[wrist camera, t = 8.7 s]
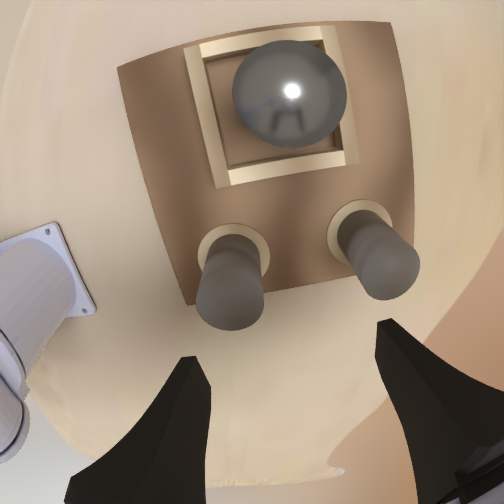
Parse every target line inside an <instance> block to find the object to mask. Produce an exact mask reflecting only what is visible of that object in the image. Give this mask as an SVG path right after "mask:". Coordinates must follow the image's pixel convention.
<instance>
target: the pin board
mask: <svg viewBox="0 0 504 504" xmlns="http://www.w3.org/2000/svg"><path fill="white" fill-rule="evenodd" d="M278 40H296V41H302V42H305V43H308V44H311V45H313V46H315V47H317V48H319V49H320V50H322V51H323V52H324V53H326V54H327V55H328V56H329V57H330V58H331V59H332V60H333V61H334V62H335V63H336V65H337V66H338V68H339V69H340V71H341V73H342V75H343V78H344V80H345V84H346V90H347V103H346V108H345V112H344V115H343V117H342V119H341V121H340V123H339V124H338V126H337V127H336V128H335V129H334V131H333V132H331V133H330V134H329V135H328V136H327V137H325V138H324V139H323V140H321V141H319V142H317V143H315V144H312V145H309V146H305V147H299V148H285V147H279V146H275V145H272V144H269V143H267V142H265V141H263V140H261V139H259V138H258V137H256V136H255V135H254V134H252V133H251V132H250V131H249V130H248V129H247V128H246V127H245V125H244V124H243V123H242V121H241V120H240V118H239V117H238V115H237V112H236V110H235V107H234V104H233V98H232V86H233V80H234V76H235V73H236V71H237V69H238V67H239V65H240V64H241V62H242V61H243V60H244V59H245V57H246V56H247V55H249V54H250V53H251V52H252V51H253V50H255V49H256V48H258V47H260V46H262V45H264V44H267V43H270V42H273V41H278ZM117 71H118V76H119V81H120V85H121V90H122V95H123V99H124V103H125V108H126V112H127V116H128V120H129V125H130V129H131V133H132V136H133V140H134V144H135V148H136V152H137V155H138V159H139V163H140V166H141V170H142V173H143V177H144V180H145V184H146V187H147V190H148V194H149V197H150V200H151V204H152V207H153V210H154V213H155V216H156V219H157V222H158V226H159V229H160V232H161V235H162V238H163V241H164V244H165V246H166V249H167V252H168V255H169V258H170V261H171V264H172V266H173V269H174V272H175V275H176V277H177V280H178V283H179V286H180V288H181V291H182V294H183V296H184V299H185V301H186V304H187V305H194V304H196V307H197V310H198V313H199V314H200V316H201V317H202V318H203V320H204V321H206V322H207V323H208V324H210V325H211V326H213V327H215V328H218V329H222V330H228V331H234V330H241V329H244V328H247V327H249V326H251V325H252V324H254V323H255V322H256V321H257V320H258V319H259V317H260V316H261V314H262V311H263V307H264V300H263V293H266V292H272V291H277V290H283V289H288V288H294V287H299V286H304V285H309V284H314V283H319V282H324V281H329V280H334V279H339V278H344V277H349V276H353V275H357V277H358V279H359V280H360V282H361V284H362V285H363V287H364V289H365V290H366V292H367V293H368V294H369V295H370V296H371V297H373V298H374V299H377V300H390V299H394V298H396V297H399V296H400V295H402V294H403V293H405V292H406V291H407V290H408V289H409V288H410V287H411V286H412V285H413V283H414V282H415V280H416V278H417V276H418V273H419V269H420V259H419V256H418V253H417V252H416V250H415V249H414V248H413V247H414V170H413V154H412V141H411V131H410V121H409V113H408V106H407V99H406V92H405V86H404V80H403V75H402V69H401V64H400V59H399V55H398V50H397V46H396V42H395V38H394V34H393V30H392V26H391V23H389V22H373V21H321V22H304V23H292V24H283V25H274V26H267V27H260V28H253V29H247V30H242V31H236V32H231V33H226V34H222V35H217V36H213V37H209V38H204V39H200V40H197V41H193V42H189V43H185V44H182V45H179V46H175V47H172V48H169V49H166V50H162V51H159V52H156V53H153V54H150V55H148V56H145V57H142V58H139V59H137V60H134V61H131V62H129V63H126V64H124V65H121V66H119V67H117Z"/></svg>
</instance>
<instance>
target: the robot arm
mask: <svg viewBox="0 0 504 504" xmlns="http://www.w3.org/2000/svg"><path fill="white" fill-rule="evenodd" d="M48 229H49V230H50V232H49V231H48ZM84 308H85V309H86V310H85V309H84ZM95 312H96V307H95V305H94V303H93V301H92V299H91V297H90V295H89V293H88V291H87V289H86V287H85V285H84V283H83V281H82V279H81V277H80V275H79V273H78V270H77V268H76V266H75V264H74V262H73V259H72V257H71V255H70V252H69V250H68V248H67V245H66V243H65V240H64V238H63V235H62V233H61V230H60V228H59V226H58V224H57V223H55V222H52V223H49V224H46V225H43V226H41V227H38V228H35V229H33V230H30V231H27V232H25V233H22V234H20V235H17V236H15V237H12V238H10V239H7V240H5V241H2V242H0V464H1V463H4V462H6V461H8V460H9V459H11V458H12V457H13V456H15V454H17V452H18V451H19V450H20V449H21V447H22V446H23V444H24V442H25V440H26V438H27V435H28V431H29V426H30V414H29V410H28V407H27V405H26V403H25V402H24V400H25V398H26V396H27V394H28V393H29V391H30V389H29V387H28V386H27V384H26V382H25V379H26V377H27V376H28V374H29V372H30V371H31V369H32V368H33V366H34V364H35V363H36V361H37V360H38V358H39V356H40V355H41V353H42V352H43V350H44V349H45V347H46V345H47V344H48V342H49V341H50V339H51V338H52V336H53V335H54V333H55V332H56V331H57V329H58V328H59V326H60V325H61V323H62V322H63V320H64V319H65V318H70V317H79V316H87V315H93V314H94V313H95ZM375 359H376V363H377V366H378V369H379V372H380V375H381V378H382V381H383V383H384V385H385V387H386V390H387V392H388V394H389V396H390V399H391V401H392V403H393V405H394V407H395V410H396V412H397V414H398V417H399V419H400V421H401V424H402V427H403V430H404V433H405V437H406V440H407V444H408V448H409V452H410V457H411V461H412V465H413V471H414V476H415V482H416V489H417V496H418V504H504V392H503V391H501V390H498V389H495V388H493V387H490V386H488V385H486V384H483V383H482V382H479V381H477V380H475V379H473V378H471V377H469V376H468V375H466V374H464V373H462V372H460V371H459V370H457V369H456V368H454V367H452V366H451V365H449V364H448V363H446V362H445V361H444V360H442V359H441V358H440V357H438V356H437V355H435V354H434V353H433V352H431V351H430V350H429V349H428V348H426V347H425V346H424V345H423V344H421V343H420V342H419V341H418V340H417V339H415V338H414V337H413V336H412V335H411V334H410V333H408V332H407V331H406V330H405V329H404V328H403V327H401V326H400V325H399V324H398V323H397V322H396V321H394V320H393V319H392V318H390V319H387V320H383V321H379V322H377V336H376V349H375ZM210 414H211V386H210V384H209V382H208V380H207V378H206V376H205V374H204V372H203V370H202V368H201V366H200V364H199V362H198V360H197V358H196V356H189V357H181V359H180V360H179V362H178V363H177V365H176V366H175V368H174V370H173V371H172V373H171V375H170V376H169V378H168V379H167V381H166V383H165V384H164V386H163V387H162V389H161V390H160V392H159V393H158V395H157V396H156V398H155V399H154V401H153V402H152V404H151V405H150V406H149V408H148V409H147V410H146V412H145V413H144V414H143V416H142V417H141V418H140V419H139V421H138V422H137V423H136V424H135V425H134V427H133V428H132V429H131V430H130V431H129V432H128V433H127V434H126V435H125V436H124V437H123V438H122V439H121V440H120V441H119V442H118V443H117V444H116V445H115V446H114V447H113V448H112V449H111V450H109V451H108V452H107V453H106V454H105V455H103V456H102V457H101V458H99V459H98V460H97V461H95V462H94V463H93V464H91V465H90V466H88V467H87V468H85V469H84V470H82V471H80V472H79V473H77V474H76V475H74V476H72V477H71V479H70V482H69V485H68V488H67V492H66V495H65V499H64V502H65V504H206V499H205V498H206V497H205V454H206V446H207V438H208V430H209V422H210Z"/></svg>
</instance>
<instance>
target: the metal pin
mask: <svg viewBox="0 0 504 504" xmlns="http://www.w3.org/2000/svg"><path fill="white" fill-rule="evenodd" d="M232 98H233V104H234V107H235V110H236V112H237V115H238V117H239V118H240V120H241V121H242V123H243V124H244V125H245V127H246V128H247V129H248V130H249V131H250V132H251V133H252V134H254V135H255V136H256V137H258V138H259V139H261V140H263V141H265V142H267V143H269V144H272V145H275V146H279V147H285V148H299V147H305V146H309V145H312V144H315V143H317V142H319V141H321V140H323V139H324V138H325V137H327V136H328V135H329V134H330V133H331V132H333V131H334V129H335V128H336V127H337V126H338V124H339V123H340V121H341V119H342V117H343V115H344V112H345V108H346V103H347V90H346V84H345V80H344V78H343V75H342V73H341V71H340V69H339V68H338V66H337V65H336V63H335V62H334V61H333V60H332V59H331V58H330V57H329V56H328V55H327V54H326V53H324V52H323V51H322V50H320V49H319V48H317V47H315V46H313V45H311V44H308V43H305V42H302V41H296V40H278V41H273V42H270V43H267V44H264V45H262V46H260V47H258V48H256V49H255V50H253V51H252V52H251V53H250V54H249V55H247V56H246V57H245V59H244V60H243V61H242V62H241V64H240V65H239V67H238V69H237V71H236V73H235V76H234V80H233V86H232Z"/></svg>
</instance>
